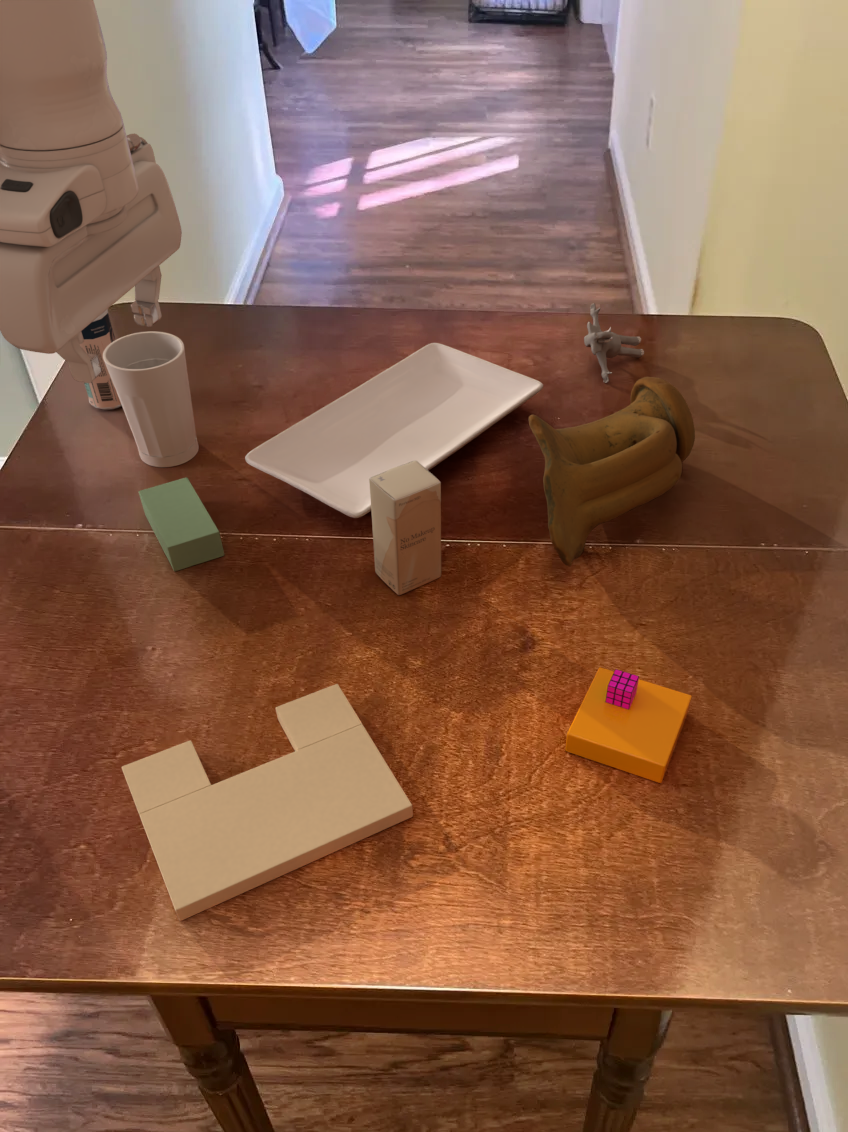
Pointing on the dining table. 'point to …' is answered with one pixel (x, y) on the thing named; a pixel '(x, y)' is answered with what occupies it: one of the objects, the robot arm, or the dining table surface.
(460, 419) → the tray
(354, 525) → the dining table surface
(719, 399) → the dining table surface
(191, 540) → the pad
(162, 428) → the cup
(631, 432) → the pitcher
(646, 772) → the orange square pedestal
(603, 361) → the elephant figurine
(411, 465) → the box
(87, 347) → the beer can
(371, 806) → the beige notched block
